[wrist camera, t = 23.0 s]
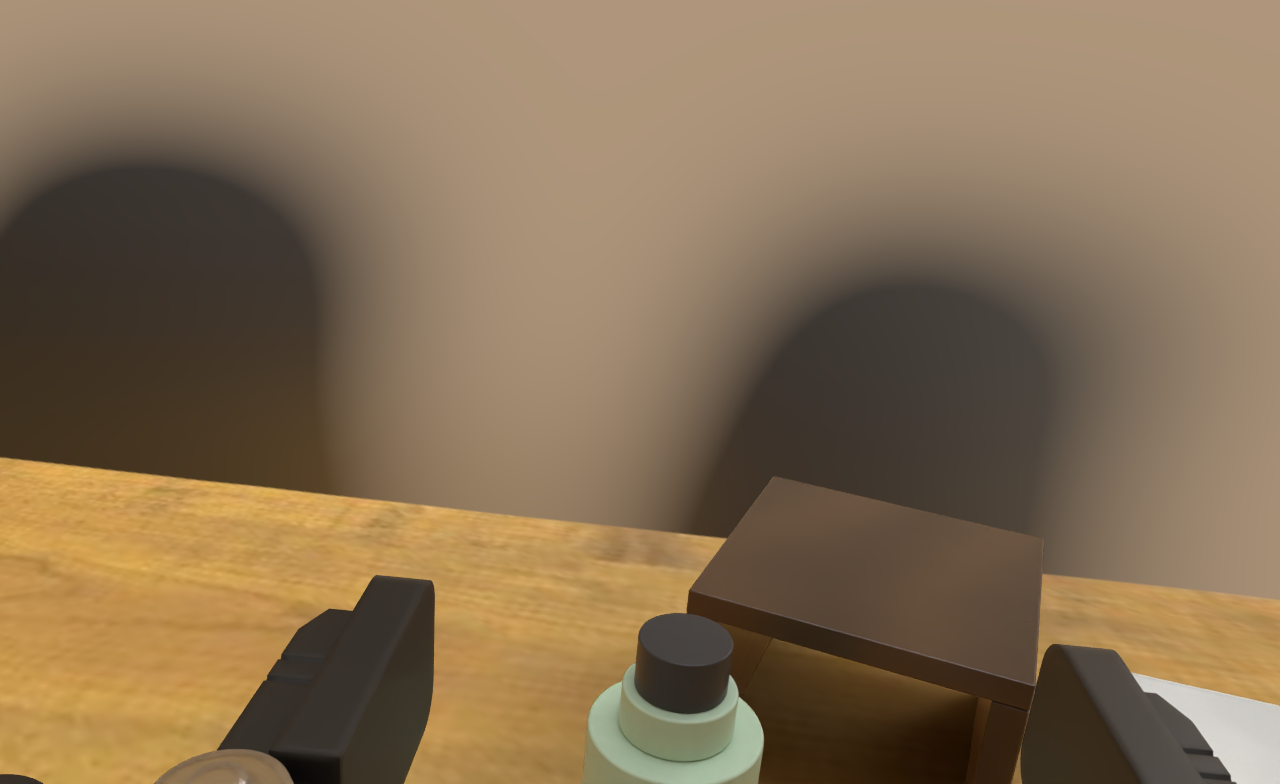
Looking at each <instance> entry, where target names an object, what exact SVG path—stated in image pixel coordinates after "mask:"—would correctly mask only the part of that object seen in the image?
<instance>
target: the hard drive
mask: <svg viewBox="0 0 1280 784" xmlns="http://www.w3.org/2000/svg"><path fill="white" fill-rule="evenodd" d="M1131 674H1132V675H1133V676H1134V678H1135V679H1136V681H1137V682H1138V684H1139V685H1140V687H1141V688H1142V690H1143V691H1144V692H1148V693H1157V694H1158V695H1160V696H1161V697H1162V698H1163V699H1165V700H1166V701H1167V702H1168V703H1170V704H1171V705H1172V706H1174V707H1175V708H1176V709H1177V710H1179V711H1180V712H1181V713H1182V714H1184V715H1185V716H1186V717H1188V718H1189V719H1190V720H1191V721H1192V722H1193V723H1194V724H1195V726H1196V727H1197V729H1198V730H1199V731H1200V733H1201V734H1202V736H1203V737H1204V738H1205V740H1206V741H1207V743H1208V744H1209V745H1210V747H1211V748H1212V750H1213V756H1214V757H1218V758H1219V759H1220V761H1221V762H1222V764H1223V765H1224V766H1225V768H1226V769H1227V770H1228V772H1229V773H1230V775H1231V781H1232V782H1236V783H1237V784H1280V706H1278V705H1274V704H1270V703H1265V702H1260V701H1256V700H1252V699H1247V698H1243V697H1238V696H1234V695H1229V694H1225V693H1221V692H1216V691H1211V690H1207V689H1203V688H1198V687H1194V686H1189V685H1184V684H1180V683H1176V682H1171V681H1166V680H1162V679H1157V678H1153V677H1148V676H1144V675H1139V674H1135V673H1131Z"/></svg>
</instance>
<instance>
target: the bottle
mask: <svg viewBox="0 0 1280 784" xmlns="http://www.w3.org/2000/svg"><path fill="white" fill-rule="evenodd" d="M732 654H733V640H732V638H731V636H730V634H729V633H728V631H727V630H726V629H725V628H723V627H722V626H721V625H719V624H718V623H716V622H714V621H712V620H710V619H707V618H704V617H701V616H697V615H692V614H685V613H671V614H664V615H660V616H656V617H654V618H652V619H650V620H648V621H647V622H646V623H645V624H644V625H643V626H642V627H641V629H640V631H639V636H638V646H637V656H636V662H635V663H634V664H632V665H631V666H630V667H629V668H628V669H627V671H626V673H625V674H624V677H623V679H622V681H621V682H618V683H616V684H614V685H613V686H611V687H609V688H608V689H606V690H605V691H604V692H603V693H601V695H600V696H599V697H598V698H597V699H596V700H595V702H594V704H593V705H592V707H591V709H590V712H589V715H588V721H587V732H586V744H585V756H584V768H583V780H582V784H758V779H759V773H760V766H761V759H762V753H763V746H764V734H763V730H762V726H761V723H760V721H759V719H758V717H757V716H756V714H755V713H754V711H753V710H752V709H751V708H750V707H749V706H748V704H747V703H746V702H744V701H743V700H742V699H741V698H740V697H739V693H738V689H737V685H736V683H735V681H734V680H733V678H732V677H731V676H730V669H731V661H732Z"/></svg>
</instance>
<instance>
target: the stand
mask: <svg viewBox="0 0 1280 784" xmlns="http://www.w3.org/2000/svg"><path fill="white" fill-rule="evenodd" d="M1043 552H1044V539H1042V538H1037V537H1033V536H1029V535H1024V534H1020V533H1016V532H1011V531H1007V530H1003V529H999V528H994V527H990V526H986V525H981V524H977V523H973V522H969V521H964V520H960V519H956V518H951V517H947V516H943V515H939V514H934V513H930V512H926V511H921V510H917V509H913V508H908V507H904V506H900V505H895V504H891V503H887V502H883V501H878V500H874V499H870V498H866V497H861V496H857V495H852V494H848V493H844V492H840V491H835V490H831V489H827V488H822V487H818V486H813V485H810V484H805V483H801V482H797V481H792V480H788V479H784V478H780V477H775V476H774V477H773V478H772V479H771V481H770V482H769V484H768V485H767V486H766V488H765V489H764V490H763V492H762V493H761V494H760V496H759V497H758V498H757V500H756V501H755V503H754V504H753V505H752V506H751V508H750V509H749V510H748V512H747V513H746V514H745V516H744V517H743V519H742V520H741V521H740V523H739V524H738V525H737V527H736V528H735V529H734V531H733V532H732V533H731V535H730V536H729V537H728V539H727V540H726V541H725V543H724V544H723V545H722V547H721V548H720V549H719V551H718V552H717V553H716V555H715V556H714V557H713V559H712V560H711V561H710V563H709V564H708V566H707V567H706V568H705V570H704V571H703V572H702V574H701V575H700V576H699V578H698V579H697V580H696V582H695V583H694V584H693V586H692V587H691V588H690V590H689V595H688V603H687V614H692V615H697V616H701V617H704V618H707V619H710V620H712V621H714V622H716V623H718V624H719V625H721V626H722V627H723V628H725V629H726V630H727V631H728V633H729V634H730V636H731V638H732V640H733V654H732V661H731V669H730V676H731V677H732V678H733V680H734V681H735V683H736V685H737V689H738V693H739V697H741V695H742V693H743V692H744V690H745V688H746V686H747V684H748V682H749V680H750V678H751V677H752V675H753V673H754V671H755V669H756V667H757V665H758V663H759V662H760V660H761V658H762V656H763V654H764V652H765V650H766V648H767V646H768V645H769V643H770V641H771V639H772V638H775V639H779V640H782V641H786V642H789V643H793V644H796V645H800V646H803V647H807V648H810V649H814V650H817V651H821V652H824V653H828V654H831V655H835V656H838V657H842V658H845V659H849V660H852V661H856V662H859V663H863V664H866V665H870V666H873V667H877V668H880V669H884V670H887V671H891V672H894V673H898V674H901V675H905V676H908V677H912V678H915V679H919V680H922V681H926V682H929V683H933V684H936V685H940V686H943V687H946V688H950V689H953V690H957V691H960V692H964V693H967V694H971V695H974V696H978V702H977V708H976V715H975V722H974V728H973V735H972V742H971V748H970V755H969V762H968V768H967V775H966V781H965V784H1011V783H1012V779H1013V775H1014V771H1015V767H1016V763H1017V759H1018V755H1019V751H1020V747H1021V743H1022V739H1023V735H1024V731H1025V727H1026V723H1027V719H1028V715H1029V710H1030V707H1031V703H1032V699H1033V695H1034V691H1035V687H1036V671H1037V654H1038V637H1039V620H1040V603H1041V586H1042V568H1043Z"/></svg>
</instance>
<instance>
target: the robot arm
mask: <svg viewBox="0 0 1280 784" xmlns="http://www.w3.org/2000/svg"><path fill="white" fill-rule="evenodd" d="M434 612H435V593H434V585H433V582H432V581H431V580H421V579H411V578H401V577H391V576H381V575H376V576H374V577H373V578H372V580H371V581H370V583H369V585H368V586H367V588H366V590H365V591H364V593H363V595H362V596H361V598H360V600H359V601H358V603H357V605H356V606H355V608H354V610H353V611H347V610H337V609H328V610H326V611H325V612H323V613H322V614H320V615H319V616H317V617H316V618H314V619H313V620H311V621H310V622H308V623H307V624H305V625H304V626H302V627H301V628H299V629H298V631H297V632H296V634H295V635H294V637H293V638H292V640H291V641H290V642H289V644H288V645H287V647H286V648H285V650H284V651H283V653H282V654H281V660H280V659H278V660H277V662H276V663H275V665H274V666H273V668H272V669H271V671H270V672H269V674H268V675H267V680H266V681H263V683H262V684H261V685H260V687H259V688H258V690H257V691H256V693H255V694H254V696H253V697H252V699H251V700H250V702H249V703H248V705H247V706H246V708H245V709H244V711H243V712H242V714H241V715H240V717H239V718H238V720H237V721H236V723H235V724H234V725H233V727H232V728H231V730H230V731H229V733H228V734H227V736H226V737H225V739H224V740H223V742H222V743H221V745H220V746H219V748H218V749H217V751H213V752H209V753H205V754H201V755H199V756H196V757H193V758H190V759H188V760H186V761H184V762H182V763H180V764H178V765H177V766H175V767H173V768H172V769H170V770H169V771H167V772H166V773H165V774H164V775H162V776H161V777H160V778H159V779H158V780H157V781H156V782H155V783H154V784H404V781H405V779H406V776H407V774H408V771H409V769H410V766H411V764H412V761H413V759H414V756H415V754H416V751H417V749H418V746H419V744H420V741H421V738H422V736H423V733H424V731H425V728H426V724H427V721H428V717H429V712H430V707H431V700H432V693H433V676H434ZM1021 777H1022V783H1023V784H1237V783H1236V782H1232V781H1231V775H1230V773H1229V772H1228V770H1227V769H1226V768H1225V766H1224V765H1223V764H1222V762H1221V761H1220V759H1219V758H1218V757H1214V756H1213V750H1212V748H1211V747H1210V745H1209V744H1208V743H1207V741H1206V740H1205V738H1204V737H1203V736H1202V734H1201V733H1200V731H1199V730H1198V729H1197V727H1196V726H1195V724H1194V723H1193V722H1192V721H1191V720H1190V719H1189V718H1188V717H1186V716H1185V715H1184V714H1182V713H1181V712H1180V711H1179V710H1177V709H1176V708H1175V707H1174V706H1172V705H1171V704H1170V703H1168V702H1167V701H1166V700H1165V699H1163V698H1162V697H1161V696H1160V695H1158V694H1157V693H1148V692H1144V691H1143V690H1142V688H1141V687H1140V685H1139V684H1138V682H1137V681H1136V679H1135V678H1134V676H1133V675H1132V674H1131V672H1130V671H1129V669H1128V668H1127V666H1126V665H1125V663H1124V662H1123V660H1122V659H1121V657H1120V656H1119V655H1118V653H1117V652H1115V651H1114V650H1111V649H1101V648H1091V647H1081V646H1070V645H1060V644H1053V645H1051V646H1050V647H1049V648H1048V649H1047V651H1046V652H1045V655H1044V657H1043V661H1042V664H1041V668H1040V672H1039V677H1038V681H1037V685H1036V689H1035V693H1034V697H1033V701H1032V705H1031V709H1030V713H1029V717H1028V721H1027V725H1026V729H1025V733H1024V737H1023V742H1022V747H1021ZM0 784H43V783H41V782H39V781H37V780H36V779H33V778H30V777H26V776H21V775H13V774H0Z"/></svg>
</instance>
